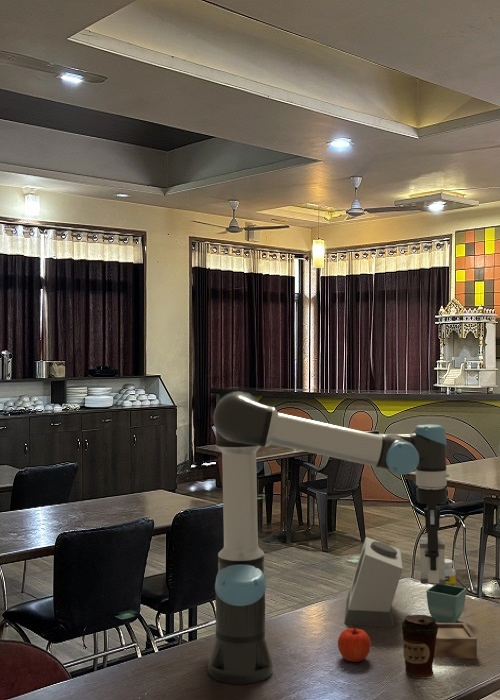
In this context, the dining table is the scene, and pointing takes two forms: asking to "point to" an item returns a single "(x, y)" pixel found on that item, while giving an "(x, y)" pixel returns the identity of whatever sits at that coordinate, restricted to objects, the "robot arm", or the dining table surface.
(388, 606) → the alarm clock
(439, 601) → the flower pot
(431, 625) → the coffee cup
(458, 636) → the walnut stand
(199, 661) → the dining table surface
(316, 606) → the dining table surface
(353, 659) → the apple
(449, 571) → the pill bottle
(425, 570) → the block
